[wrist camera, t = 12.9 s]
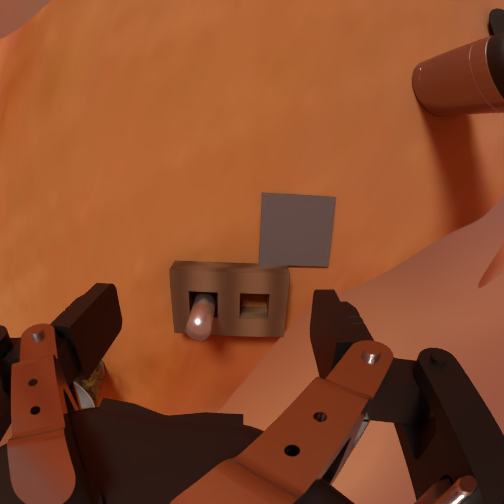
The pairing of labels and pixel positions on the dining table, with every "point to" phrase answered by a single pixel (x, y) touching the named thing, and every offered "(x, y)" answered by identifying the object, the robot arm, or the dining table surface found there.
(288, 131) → the dining table surface
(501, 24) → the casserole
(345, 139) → the dining table surface
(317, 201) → the mat
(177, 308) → the socket block
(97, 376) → the ceramic cup
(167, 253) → the dining table surface
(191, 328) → the pin
